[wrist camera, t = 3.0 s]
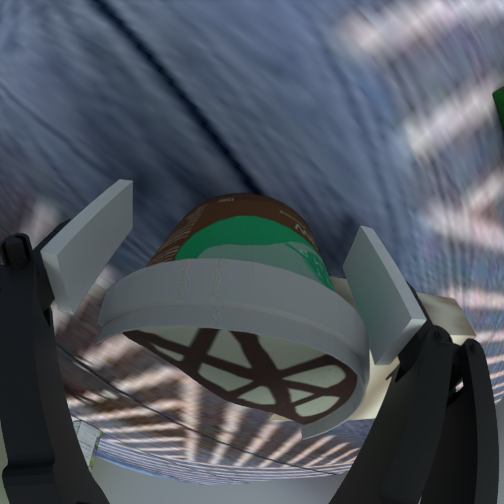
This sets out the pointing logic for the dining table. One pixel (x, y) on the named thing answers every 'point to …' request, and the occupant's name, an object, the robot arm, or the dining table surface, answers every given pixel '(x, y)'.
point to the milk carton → (500, 103)
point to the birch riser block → (440, 313)
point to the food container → (248, 313)
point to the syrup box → (87, 440)
